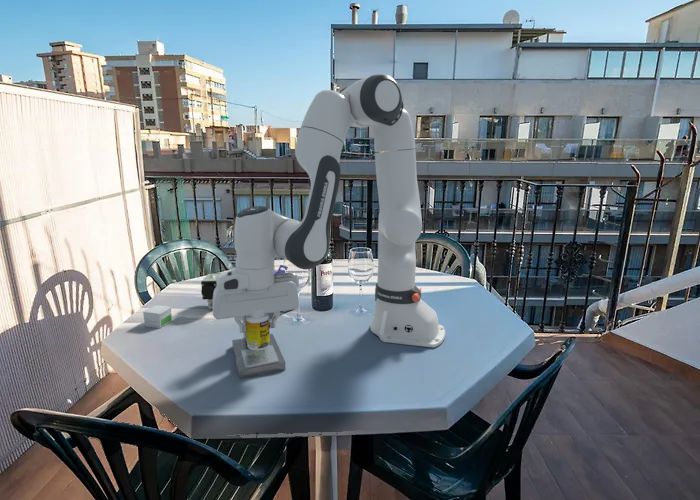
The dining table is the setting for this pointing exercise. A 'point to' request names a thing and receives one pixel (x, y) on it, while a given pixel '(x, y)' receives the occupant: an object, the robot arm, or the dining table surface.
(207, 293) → the pneumatic valve
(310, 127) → the robot arm
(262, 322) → the supplement bottle
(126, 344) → the dining table surface
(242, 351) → the press
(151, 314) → the small box
